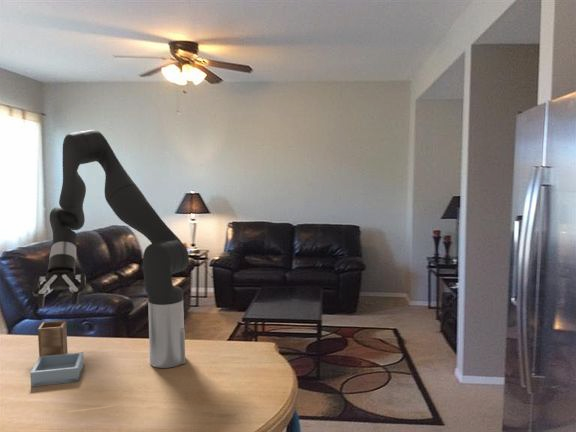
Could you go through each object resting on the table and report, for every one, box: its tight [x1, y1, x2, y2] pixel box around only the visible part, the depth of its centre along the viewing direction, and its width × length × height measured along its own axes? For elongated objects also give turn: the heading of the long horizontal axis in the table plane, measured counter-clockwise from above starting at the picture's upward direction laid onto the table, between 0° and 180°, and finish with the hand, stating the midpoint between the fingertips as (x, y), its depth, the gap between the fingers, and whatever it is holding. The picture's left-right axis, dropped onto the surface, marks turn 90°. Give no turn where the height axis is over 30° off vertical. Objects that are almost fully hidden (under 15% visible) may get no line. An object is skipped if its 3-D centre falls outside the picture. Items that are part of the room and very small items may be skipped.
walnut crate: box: [37, 319, 69, 358], centre depth 135 cm, size 6×6×10 cm
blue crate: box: [29, 351, 85, 388], centre depth 125 cm, size 11×11×4 cm
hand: (57, 306), depth 142 cm, fingers open, 8 cm apart
